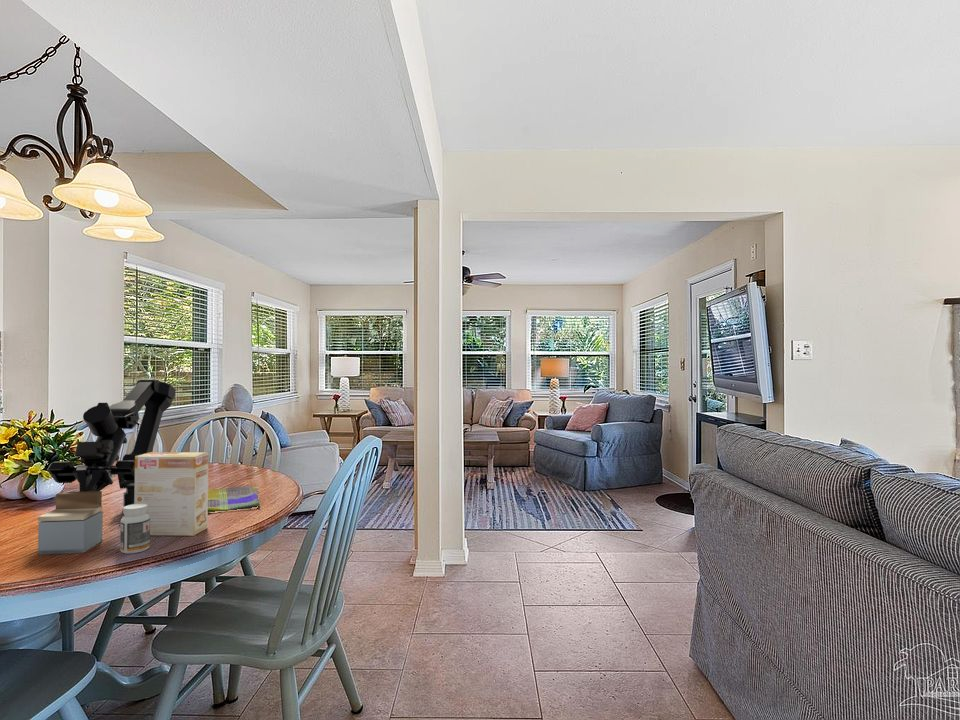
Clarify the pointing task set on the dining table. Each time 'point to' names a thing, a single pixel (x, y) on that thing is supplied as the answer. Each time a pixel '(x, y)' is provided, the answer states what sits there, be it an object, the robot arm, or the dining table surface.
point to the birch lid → (74, 506)
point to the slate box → (70, 535)
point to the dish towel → (232, 498)
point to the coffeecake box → (173, 491)
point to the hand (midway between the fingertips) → (81, 502)
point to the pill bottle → (135, 529)
